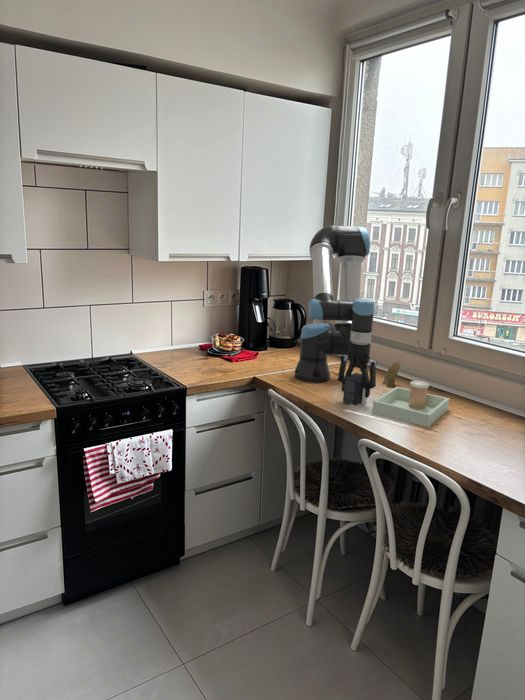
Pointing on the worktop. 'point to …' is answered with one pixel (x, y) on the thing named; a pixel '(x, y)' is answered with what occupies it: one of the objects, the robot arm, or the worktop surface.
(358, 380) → the box
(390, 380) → the rock
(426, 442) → the worktop surface
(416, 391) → the jar
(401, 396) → the tray
